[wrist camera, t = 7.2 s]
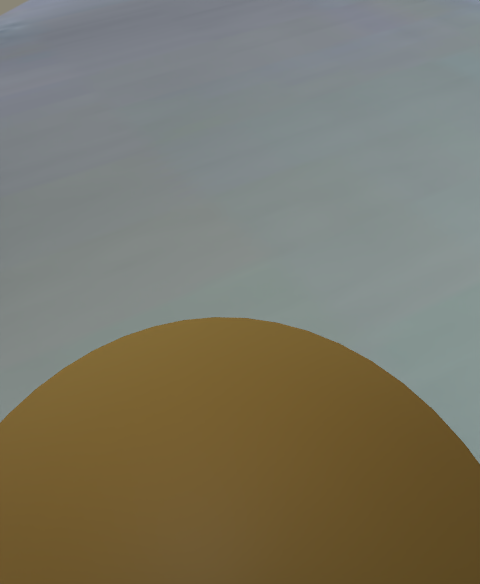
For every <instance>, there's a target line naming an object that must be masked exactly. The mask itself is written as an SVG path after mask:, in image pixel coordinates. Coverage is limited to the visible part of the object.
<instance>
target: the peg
mask: <svg viewBox="0 0 480 584" xmlns="http://www.w3.org/2000/svg"><path fill="white" fill-rule="evenodd" d="M0 584H480V464H479V463H478V461H477V460H476V459H475V457H474V456H473V455H472V453H471V452H470V451H469V449H468V448H467V447H466V445H465V444H464V443H463V442H462V441H461V439H460V438H459V437H458V436H457V435H456V434H455V433H454V432H453V431H452V430H451V429H450V427H449V426H448V425H447V424H446V423H445V422H444V421H443V420H442V419H441V418H440V417H439V415H438V414H437V413H436V412H435V411H434V410H433V409H432V408H431V407H429V406H428V405H427V404H426V403H425V402H424V401H423V400H422V399H420V398H419V397H418V396H417V395H416V394H415V393H414V392H412V391H411V390H410V389H409V388H408V387H407V386H406V385H405V384H403V383H402V382H401V381H399V380H398V379H396V378H395V377H393V376H392V375H391V374H389V373H388V372H386V371H385V370H384V369H382V368H381V367H379V366H378V365H376V364H375V363H374V362H372V361H370V360H369V359H367V358H365V357H363V356H361V355H359V354H358V353H356V352H354V351H352V350H350V349H348V348H347V347H345V346H343V345H341V344H339V343H336V342H334V341H331V340H329V339H326V338H324V337H321V336H319V335H317V334H314V333H312V332H309V331H306V330H302V329H298V328H295V327H291V326H287V325H283V324H280V323H275V322H269V321H262V320H255V319H248V318H220V317H213V318H202V319H192V320H182V321H178V322H173V323H168V324H164V325H159V326H154V327H151V328H148V329H145V330H142V331H139V332H136V333H133V334H130V335H127V336H124V337H122V338H119V339H117V340H115V341H113V342H111V343H109V344H106V345H104V346H102V347H100V348H98V349H96V350H94V351H92V352H90V353H88V354H87V355H85V356H83V357H82V358H80V359H78V360H77V361H75V362H73V363H72V364H70V365H68V366H67V367H65V368H64V369H62V370H61V371H60V372H58V373H57V374H56V375H54V376H53V377H52V378H50V379H49V380H48V381H46V382H45V383H44V384H42V385H41V386H39V387H38V388H37V389H36V390H34V391H33V392H32V393H31V394H30V395H29V396H28V397H27V398H26V399H25V400H23V401H22V402H21V403H20V404H19V405H18V406H17V407H16V408H15V409H14V410H13V411H11V412H10V413H9V414H8V415H7V416H6V417H5V418H4V420H3V421H2V422H1V423H0Z"/></svg>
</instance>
